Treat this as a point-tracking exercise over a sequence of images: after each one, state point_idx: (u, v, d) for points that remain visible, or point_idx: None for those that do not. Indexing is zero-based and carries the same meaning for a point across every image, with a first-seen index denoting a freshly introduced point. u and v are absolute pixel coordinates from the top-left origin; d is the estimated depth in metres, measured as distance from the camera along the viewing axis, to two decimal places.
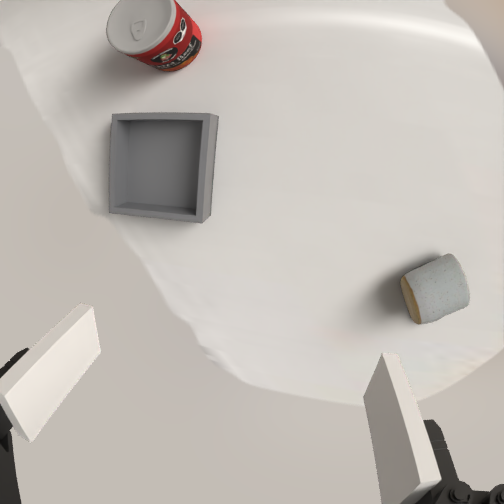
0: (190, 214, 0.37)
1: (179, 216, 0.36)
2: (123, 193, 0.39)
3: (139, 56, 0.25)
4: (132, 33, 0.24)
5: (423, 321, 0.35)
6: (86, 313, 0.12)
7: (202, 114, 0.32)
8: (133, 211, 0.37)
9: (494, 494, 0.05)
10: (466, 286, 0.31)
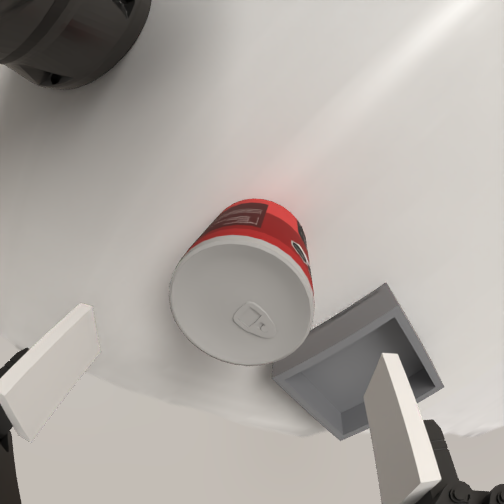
0: (427, 388, 0.26)
1: (419, 398, 0.26)
2: (335, 412, 0.31)
3: None
4: (252, 333, 0.17)
5: None
6: (86, 313, 0.12)
7: (389, 312, 0.23)
8: (367, 426, 0.28)
9: (494, 494, 0.05)
10: None
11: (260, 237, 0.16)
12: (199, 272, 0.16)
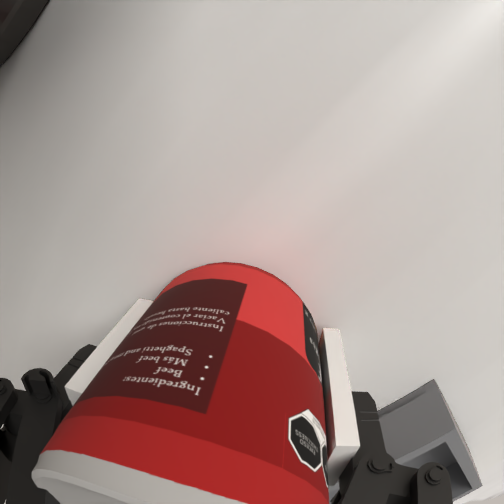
0: (462, 489, 0.14)
1: None
2: None
3: None
4: None
5: None
6: None
7: (440, 438, 0.11)
8: None
9: (421, 474, 0.06)
10: None
11: (195, 475, 0.04)
12: (75, 491, 0.05)
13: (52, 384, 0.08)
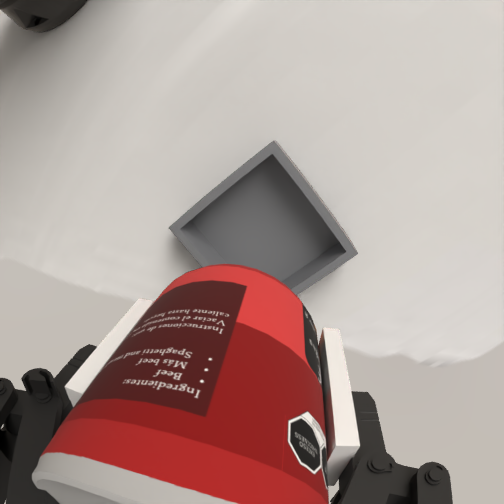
0: (338, 255, 0.29)
1: (330, 266, 0.29)
2: None
3: None
4: None
5: None
6: None
7: (266, 148, 0.26)
8: None
9: (421, 474, 0.06)
10: None
11: (195, 478, 0.04)
12: (75, 493, 0.05)
13: (52, 384, 0.08)
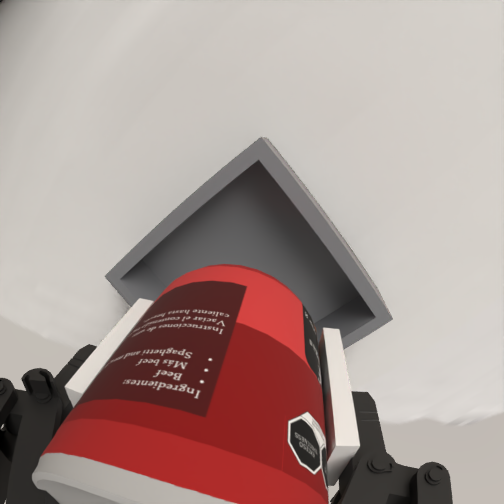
0: (362, 321, 0.18)
1: (349, 338, 0.18)
2: None
3: None
4: None
5: None
6: None
7: (248, 150, 0.15)
8: None
9: (421, 474, 0.06)
10: None
11: (195, 479, 0.04)
12: (75, 493, 0.05)
13: (52, 384, 0.08)
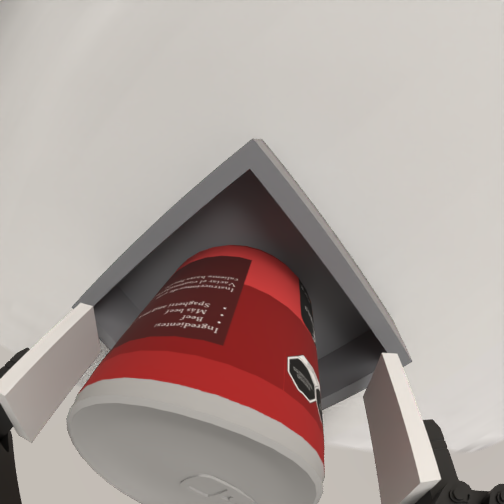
0: (376, 364, 0.14)
1: (359, 384, 0.14)
2: None
3: None
4: (215, 501, 0.08)
5: None
6: (86, 313, 0.12)
7: (236, 157, 0.11)
8: None
9: (494, 494, 0.05)
10: None
11: (216, 386, 0.06)
12: (107, 425, 0.07)
13: None
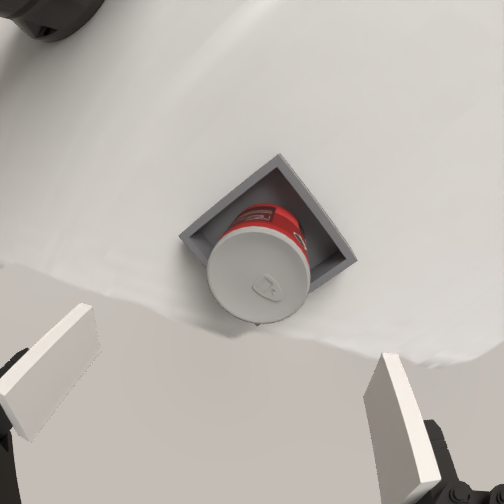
0: (338, 262, 0.30)
1: (331, 273, 0.30)
2: None
3: None
4: (266, 297, 0.24)
5: None
6: (86, 313, 0.12)
7: (271, 161, 0.28)
8: None
9: (494, 494, 0.05)
10: None
11: (272, 228, 0.23)
12: (229, 252, 0.23)
13: None
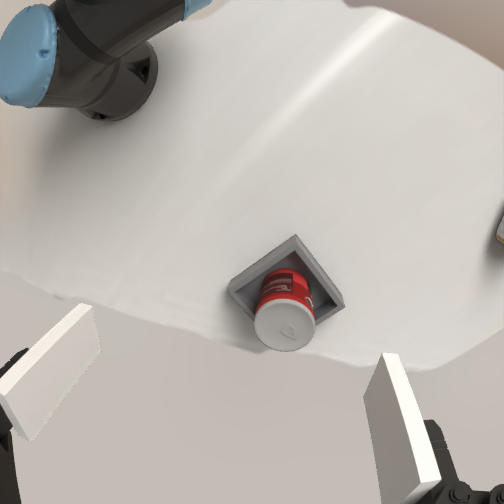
0: (333, 307, 0.46)
1: (327, 314, 0.46)
2: None
3: None
4: (288, 337, 0.40)
5: None
6: (86, 313, 0.12)
7: (291, 246, 0.43)
8: None
9: (494, 494, 0.05)
10: None
11: (294, 299, 0.38)
12: (268, 312, 0.39)
13: None
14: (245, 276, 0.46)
